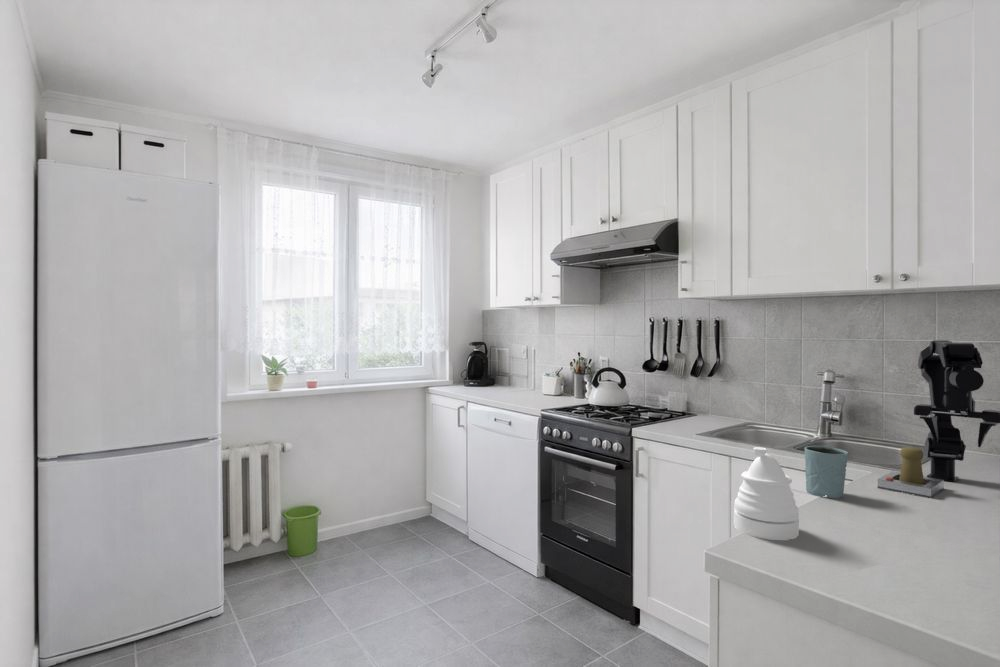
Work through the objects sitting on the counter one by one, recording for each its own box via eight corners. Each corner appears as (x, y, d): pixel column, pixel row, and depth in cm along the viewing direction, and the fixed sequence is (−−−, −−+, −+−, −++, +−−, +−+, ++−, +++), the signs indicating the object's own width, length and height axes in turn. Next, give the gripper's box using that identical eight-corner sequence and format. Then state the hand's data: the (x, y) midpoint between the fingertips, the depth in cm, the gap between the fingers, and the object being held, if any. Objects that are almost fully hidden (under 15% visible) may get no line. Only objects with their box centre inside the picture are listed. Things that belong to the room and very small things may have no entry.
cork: (930, 490, 148) (930, 450, 148) (905, 488, 149) (905, 449, 149) (917, 484, 154) (917, 445, 154) (893, 483, 155) (894, 444, 155)
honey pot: (769, 544, 110) (770, 456, 110) (721, 523, 122) (721, 444, 122) (812, 535, 116) (813, 451, 115) (761, 516, 127) (762, 440, 127)
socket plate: (892, 479, 161) (892, 469, 161) (943, 488, 152) (943, 477, 152) (877, 487, 152) (877, 476, 152) (930, 498, 143) (930, 486, 143)
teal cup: (804, 486, 153) (804, 444, 153) (846, 492, 148) (847, 448, 148) (803, 495, 144) (804, 450, 144) (848, 501, 139) (849, 455, 139)
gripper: (1009, 389, 147) (1008, 446, 147) (924, 384, 162) (924, 436, 162) (1001, 391, 140) (1001, 451, 140) (913, 386, 155) (913, 440, 155)
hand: (957, 444), depth 149 cm, fingers open, 9 cm apart
